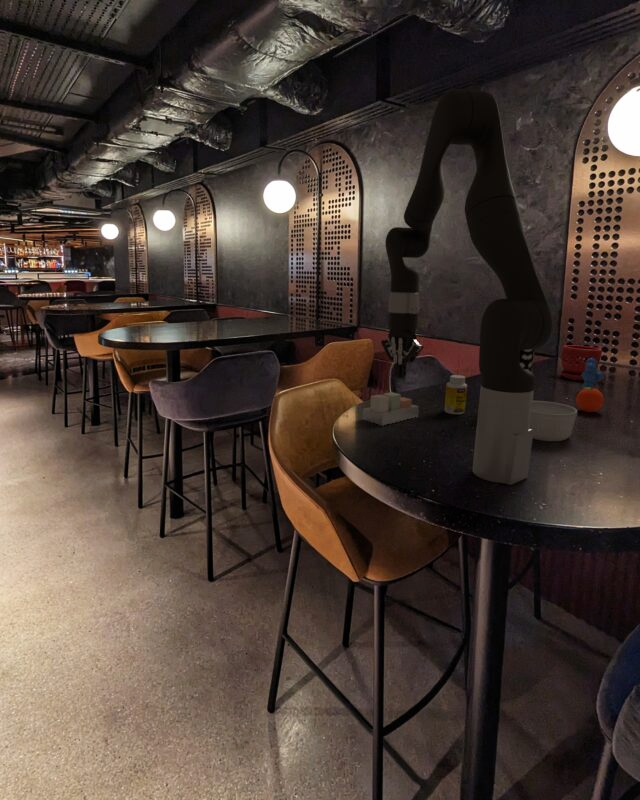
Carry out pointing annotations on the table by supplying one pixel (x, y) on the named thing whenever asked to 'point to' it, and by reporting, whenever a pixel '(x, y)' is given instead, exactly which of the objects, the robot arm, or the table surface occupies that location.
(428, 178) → the robot arm
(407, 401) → the key terracotta
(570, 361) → the plant pot
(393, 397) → the key sage
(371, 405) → the key ivory
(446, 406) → the supplement bottle
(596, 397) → the clementine
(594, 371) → the grapes
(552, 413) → the ramekin
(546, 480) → the table surface
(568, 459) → the table surface
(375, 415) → the keypad frame
